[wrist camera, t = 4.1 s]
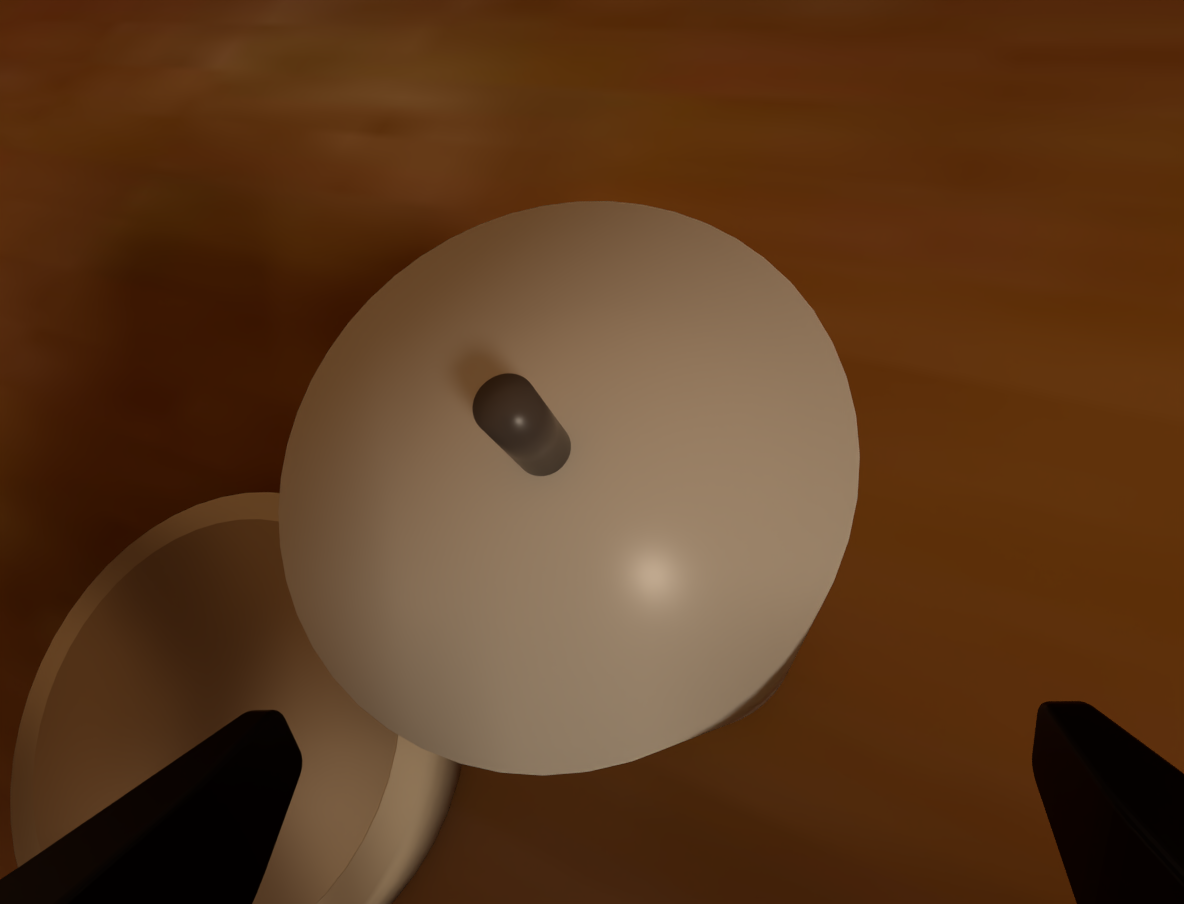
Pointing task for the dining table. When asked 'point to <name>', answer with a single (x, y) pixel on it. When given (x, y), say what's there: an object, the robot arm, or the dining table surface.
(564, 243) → the candle
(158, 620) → the base disc
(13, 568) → the dining table surface
